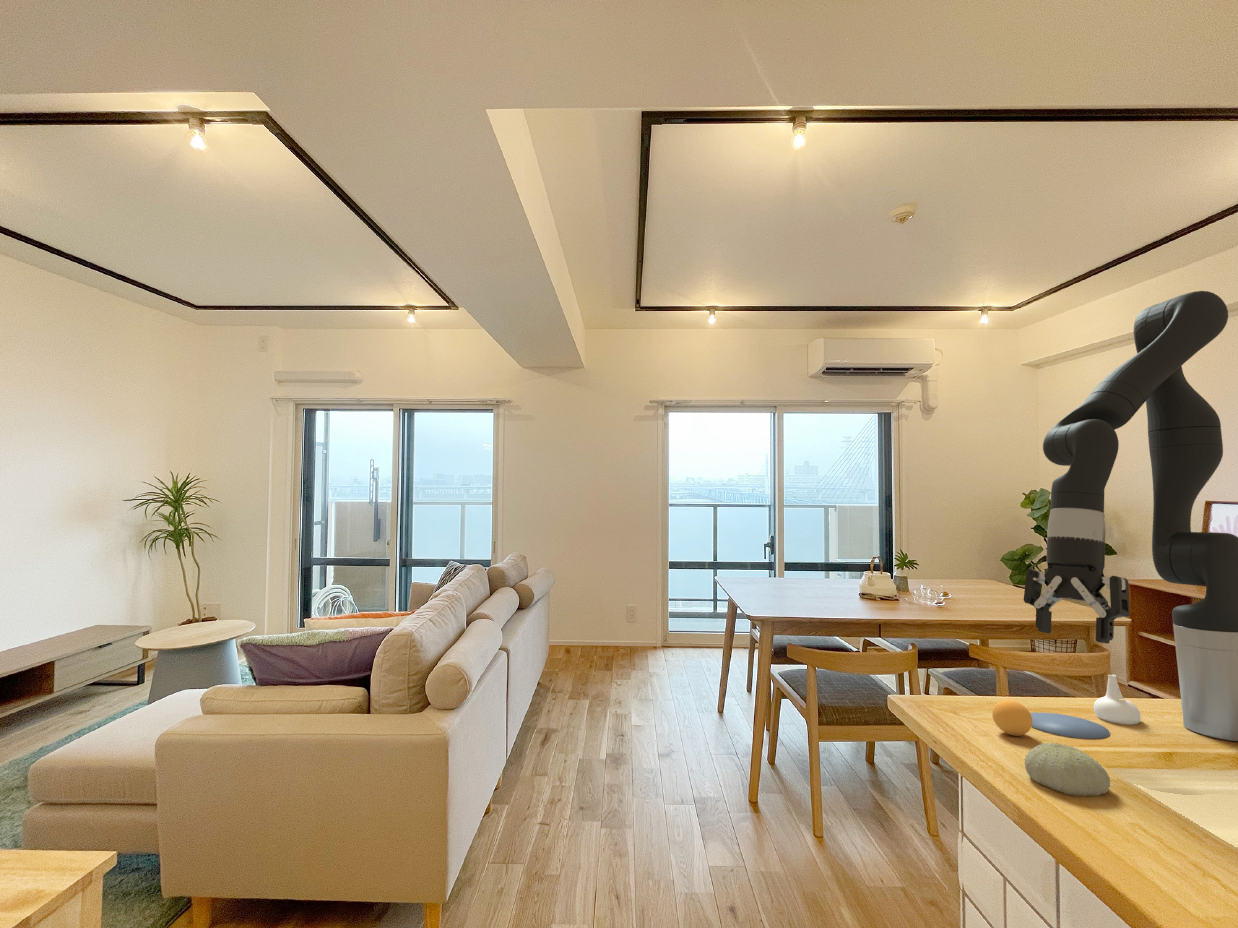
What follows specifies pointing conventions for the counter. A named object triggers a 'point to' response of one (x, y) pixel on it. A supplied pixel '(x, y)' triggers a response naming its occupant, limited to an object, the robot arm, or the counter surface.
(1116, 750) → the counter surface
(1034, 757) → the sea urchin shell
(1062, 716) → the disc
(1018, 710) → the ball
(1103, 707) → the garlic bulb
